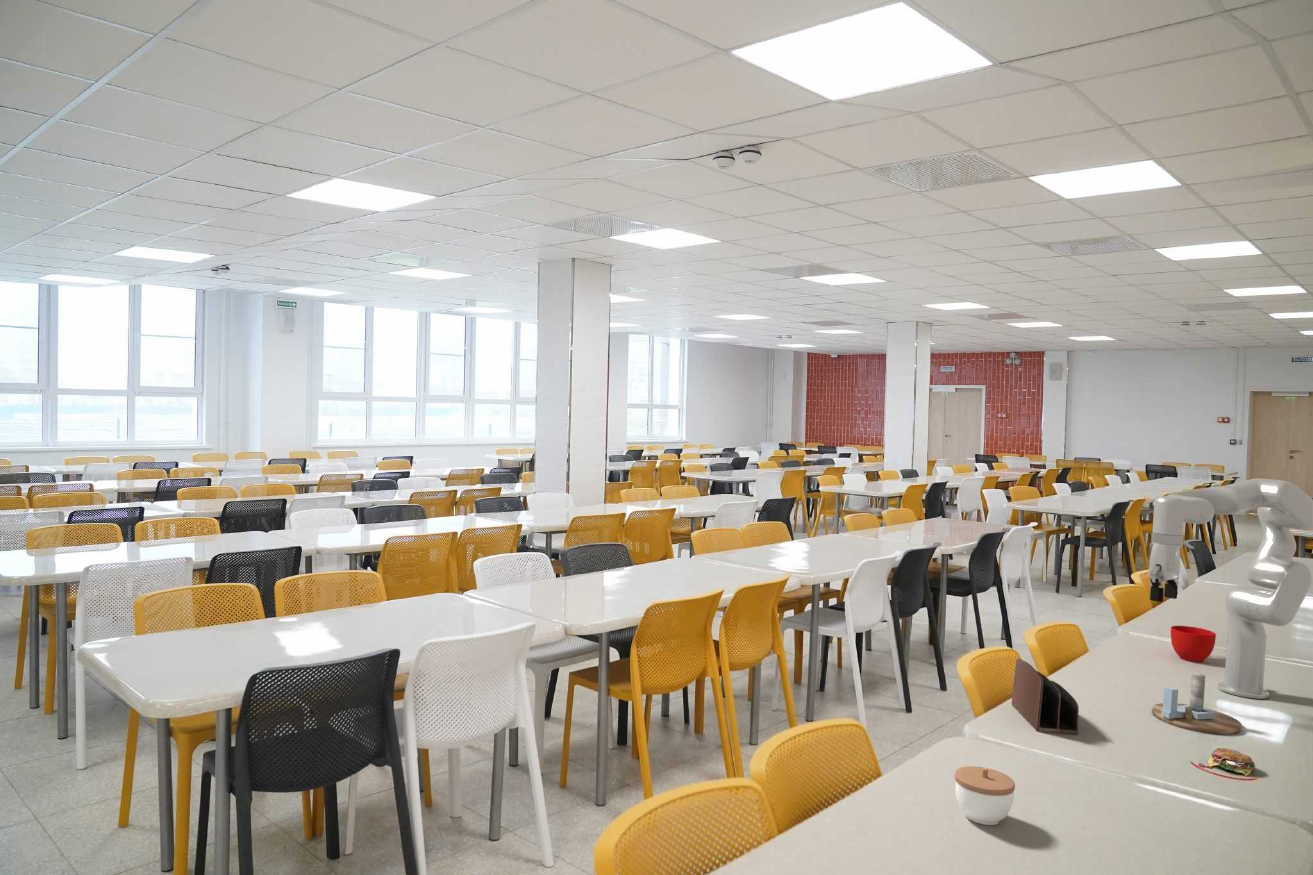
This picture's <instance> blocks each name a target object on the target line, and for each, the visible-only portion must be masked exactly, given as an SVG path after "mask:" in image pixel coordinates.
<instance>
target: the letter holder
mask: <svg viewBox="0 0 1313 875" xmlns="http://www.w3.org/2000/svg"><path fill="white" fill-rule="evenodd" d="M1012 685H1013V687H1012V697H1011V706H1012V707H1013V708H1014V709H1015V710H1016V711H1017V713H1019V714H1020V715H1021V716H1022V718H1023V719H1025V721H1026V722H1027V723H1028V724H1029V725H1030V726H1031V727H1032V728H1033V729H1034V730H1035V731H1036V732H1039V733H1050V734H1059V735H1060V734H1063V735H1075V736H1077V735H1078V734H1079V711H1080V710H1079V704H1078V702H1077V700H1076V699H1075V697H1074V696H1073V695H1072V694H1071V693H1070V692H1068V690H1066V689H1065V688H1064V687H1063V686H1062V685H1061V684H1059V683H1057V682H1056V681H1054V680H1050V679H1049V678H1048V677H1047V676H1046V675H1045V674H1043V673H1041V671H1037V670H1036V668H1034V667H1033V666H1032V665H1031V664H1030V663H1029V662H1027V661H1026V660H1023V659H1021V658H1017V659H1015V668H1014V675H1013V684H1012Z"/></svg>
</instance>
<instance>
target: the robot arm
mask: <svg viewBox="0 0 1313 875" xmlns="http://www.w3.org/2000/svg"><path fill="white" fill-rule="evenodd" d="M1255 509H1257V511H1256V512H1257V513H1256V514H1257V517H1258V520H1259V523H1260V525H1261V528H1262V529H1261V530H1262V540H1261V543H1260V545H1259V546H1258V548H1257V550H1256V551H1255V552H1256V553H1255V554H1254V556H1253V558H1252V560H1251V561H1250V562H1249V563H1250V564H1249V566H1248V567H1247V571H1246V577H1247V580H1248V581H1249V582H1250V583H1251V584H1252V585H1255V586H1257V587H1254V586H1249V585H1236V586H1233V587H1232V588H1230V589H1229V590H1228V591H1227V593H1226V594H1225V598H1224V599H1225V608H1226V615H1227V634H1226V635H1227V637H1226V651H1225V662H1224V663H1225V668H1224V678H1223V679H1224V681H1219V682H1218V684H1217V688H1218V689H1219V690H1220V691H1222V692H1224V693H1227V694H1229V695H1235V696H1237V697H1241V698H1242V697H1243V698H1247V699H1248V698H1249V699H1257V700H1259V699H1260V700H1262V699H1265V700H1266V699H1268V698H1269V697H1270V692H1269V691H1268V690H1266V689H1264V679H1265V668H1266V667H1265V666H1266V665H1265V664H1266V651H1267V648H1266V647H1267V634H1266V629H1265V627H1264V624H1267V625H1271V626H1274V627H1284V626H1287V625H1289V624H1290V623H1291V622H1293V620H1294V619H1295V616H1297V613H1298V611H1299V609H1300V607H1301V605H1302V604H1303V602H1304V600H1305V598H1306V596H1307V594H1308V592H1309V590H1310V588H1311V585H1312V584H1311V583H1312V572H1311V569H1310V568H1309V567H1308V565H1306V564H1305V563H1303V562H1301V561H1298V560H1293V558H1294V555H1295V553H1296V550H1297V543H1296V539H1295V537H1294V535H1293V533H1292V530H1291V529H1295V530H1301V531H1312V530H1313V498H1312V497H1311V496H1310V495H1308V494H1307V493H1306V492H1305V491H1303V490H1302V489H1301V488H1300V487H1298V486H1297V485H1295V484H1294V483H1292V482H1290V481H1288V480H1282V479H1273V478H1272V479H1271V478H1252V479H1245V480H1242V481H1238V482H1233V483H1230V484H1226V485H1220V486H1211V487H1202V488H1195V489H1186V490H1181V491H1177V492H1174V493H1169V494H1166V495H1165V496H1162V495H1161V496H1158V497H1157V496H1156V497H1155V499H1154V503H1153V520H1152V521H1153V522H1152V536H1151V545H1152V548H1151V551H1150V557H1149V564H1148V573H1147V574H1148V578H1150V580H1149V581H1150V584H1149V585H1150V591H1149V592H1150V595H1149V600H1150V601H1153V602H1158V603H1163V602H1164V598H1168V599H1173V600H1176V599H1178V587H1179V578H1180V571H1181V548H1182V547H1183V543H1184V530H1185V529H1184V528H1185V523H1190V524H1194V525H1202V524H1207V523H1208V522H1210V521H1212V519H1213V518H1214V515H1219V516H1221V515H1223V516H1225V515H1236V514H1239V513H1243V512H1246V511H1251V510H1255ZM1258 586H1259V587H1258ZM1163 587H1164V588H1163ZM1260 587H1261V588H1260ZM1264 588H1266V589H1264ZM1268 589H1270V590H1268ZM1272 590H1274V591H1272Z"/></svg>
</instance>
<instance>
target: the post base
mask: <svg viewBox="0 0 1313 875" xmlns="http://www.w3.org/2000/svg"><path fill="white" fill-rule="evenodd" d="M1205 686H1206V675H1205V674H1202V673H1198V672H1193V673H1191V684H1190V699H1189V705H1190V708H1185V718H1171V719H1168V718H1166V717H1164V716H1161V710H1163V702H1161V703H1156V704H1154V705H1152V707H1151V713H1153V714H1152V715H1153V716H1154V717H1155V718H1156V719H1158V720H1160V721H1161V720H1162V722H1164V723H1166V722H1167V723H1166V724H1169V725H1171V726H1174V727H1177V728H1181V729H1184V730H1188V731H1191V732H1192V731H1193V732H1198V733H1203V734H1211V735H1220V736H1224V735H1225V736H1229V735H1230V736H1231V735H1238V734H1240V733H1241V732H1242V730H1243V729H1242V728H1243V724H1242V723H1241V721H1239V720H1238V719H1237V718H1235V717H1233V716H1231V715H1228V714H1226V713H1223V712H1220V711H1218V710H1214V709H1210V708H1206V707H1204V702H1205V701H1204V700H1205V688H1206V687H1205ZM1185 705H1187V704H1185V703H1177V708H1178V706H1185ZM1203 708H1205V709H1207V710H1210V711H1212V712H1215V718H1213V719H1198V720H1197V719H1195V718H1192V710H1193V711H1195V712H1203Z"/></svg>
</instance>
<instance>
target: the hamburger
mask: <svg viewBox="0 0 1313 875" xmlns="http://www.w3.org/2000/svg"><path fill="white" fill-rule="evenodd" d="M1189 763H1190V764H1191V765H1192V766H1194V767H1195V768H1197V769H1199V770H1201V771H1203V772H1206V773H1209V774H1212V775H1214V776H1217V777H1222V778H1225V779H1231V780H1239V781H1257V780H1259V779H1258V777H1255V778H1254V777H1253V778H1241V777H1233V776H1228V775H1227V776H1226V775H1224V774H1223V775H1222V774H1219V773H1216V772H1214V771H1213V772H1212V771H1210V770H1212V769H1214V768H1215V767H1214V766H1217V767H1219V768H1221V769H1223V770H1227V771H1229V772H1235V773H1241V774H1243V775H1244V776H1245V777H1247V776H1249V775H1250V774H1251V773H1252V771H1253V770H1254V769H1256V763H1255V762H1254V761H1253V759H1252V758H1251V756H1250V755H1249V754H1248V755H1247V754H1245V753H1242V752H1240V751H1238V750H1235V749H1231V748H1227V747H1217V748H1215V750H1212V752H1211V755H1210V756H1209V759H1208V765H1205V764H1203V763H1201V762H1198V765H1197V764H1196V763H1194V762H1193V761H1192V760H1191V761H1189ZM1205 768H1207V769H1205ZM1208 769H1210V770H1208Z"/></svg>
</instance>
